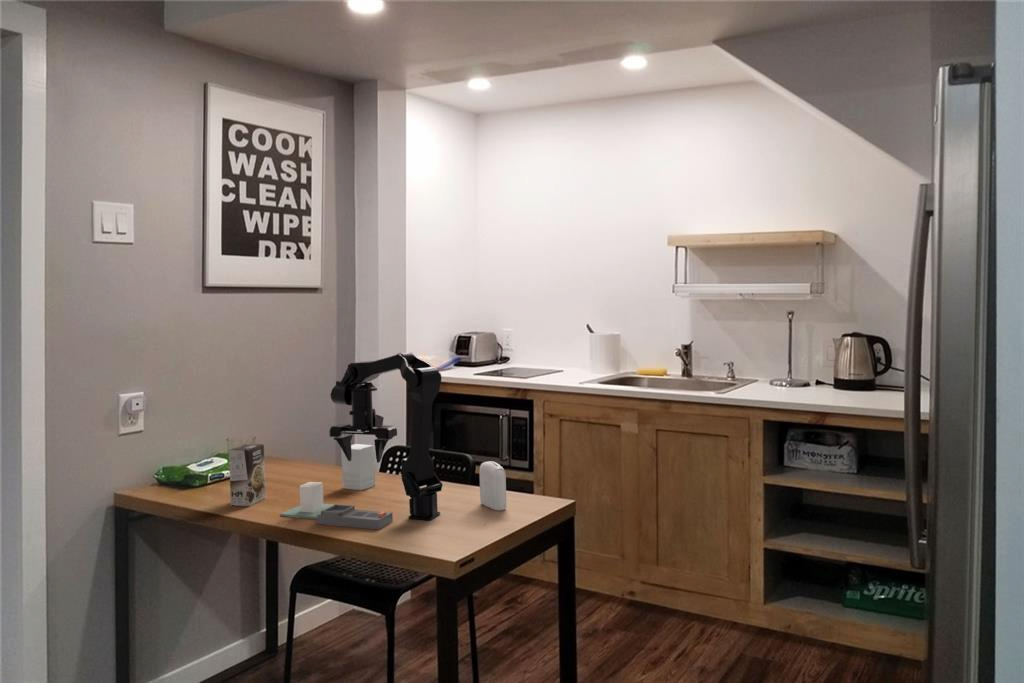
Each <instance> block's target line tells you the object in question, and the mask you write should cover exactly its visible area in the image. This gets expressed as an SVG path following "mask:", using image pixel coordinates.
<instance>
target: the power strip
mask: <svg viewBox="0 0 1024 683" xmlns="http://www.w3.org/2000/svg"><path fill="white" fill-rule="evenodd" d="M332 505H333V506H331V507H329V508H326V509H324V510H322V511H321V513H320V514H318V515H317V519H316V520H317V522H316V524H317V525H323V526H325V525H326V526H335V527H336V526H337V527H346V528H348V527H350V528H357V529H358V528H360V529H369V530H381V529H383V528H384V527H386V526H387V525H389V524H391V523H393V520H394V519H393V518H394V517H393V515H394V514H393V512H392V511H391V512H390V511H383V510H382V511H379V510H367V509H366V510H365V509H355V505H350V504H348V505H347V504H338V503H337V504H336V503H335V504H332Z"/></svg>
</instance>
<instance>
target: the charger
mask: <svg viewBox="0 0 1024 683" xmlns="http://www.w3.org/2000/svg"><path fill="white" fill-rule="evenodd" d="M323 484H324V483H323V482H319V481H318V482H316V481H308V482H306V483H304V484H301V485H299V503H300V504H299V505H300V510H301V512H311V513H314V512H316V511H318V510H320V509H322V508H324V505H323V504H324V487H323V486H324V485H323Z"/></svg>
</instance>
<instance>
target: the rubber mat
mask: <svg viewBox="0 0 1024 683" xmlns="http://www.w3.org/2000/svg"><path fill="white" fill-rule="evenodd" d="M323 505H324V508H322V509H320V510H318V511H316V512H314V513H311V512H301V510H300V504H299V505H297V506H295V507H293V508H291V509H288V510H286V511H284V512H281V513H280V514H279V516H280V517H286V518H296V519H297V518H298V519H306V520H307V519H308V520H310V519H311V520H317V515H318V514H320V513H321V511H322V510H324V509H326V508H329V507H331V506H333V505H334V504H332V503H323Z"/></svg>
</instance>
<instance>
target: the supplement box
mask: <svg viewBox="0 0 1024 683" xmlns="http://www.w3.org/2000/svg"><path fill="white" fill-rule="evenodd" d="M340 451H341V452H340V453H341V454H340V455H341V474H342V489H347V490H354V491H364V490H367V489H370V488H372V487H375V486H376V485H377V484H376V463H375V444H374V445H373V444H362V443H355V444H351V453H352V458H351V461H348V459H347V458H346V456H345V454H344V452H343V450H342V448H341V447H340Z"/></svg>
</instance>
